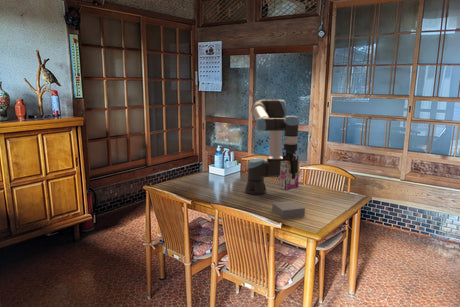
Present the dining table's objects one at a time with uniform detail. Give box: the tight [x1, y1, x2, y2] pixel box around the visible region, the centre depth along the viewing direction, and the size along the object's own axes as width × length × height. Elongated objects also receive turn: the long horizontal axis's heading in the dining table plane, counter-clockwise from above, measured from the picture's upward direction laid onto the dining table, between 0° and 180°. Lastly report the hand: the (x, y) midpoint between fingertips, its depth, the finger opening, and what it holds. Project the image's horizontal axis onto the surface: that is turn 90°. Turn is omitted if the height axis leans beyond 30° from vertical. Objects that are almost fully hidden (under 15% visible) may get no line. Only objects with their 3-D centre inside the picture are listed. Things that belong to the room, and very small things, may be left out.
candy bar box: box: [279, 160, 300, 191], centre depth 202 cm, size 11×5×16 cm, turn 128°
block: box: [271, 200, 306, 219], centre depth 206 cm, size 14×14×5 cm
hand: (289, 182), depth 203 cm, fingers closed on candy bar box, 6 cm apart
